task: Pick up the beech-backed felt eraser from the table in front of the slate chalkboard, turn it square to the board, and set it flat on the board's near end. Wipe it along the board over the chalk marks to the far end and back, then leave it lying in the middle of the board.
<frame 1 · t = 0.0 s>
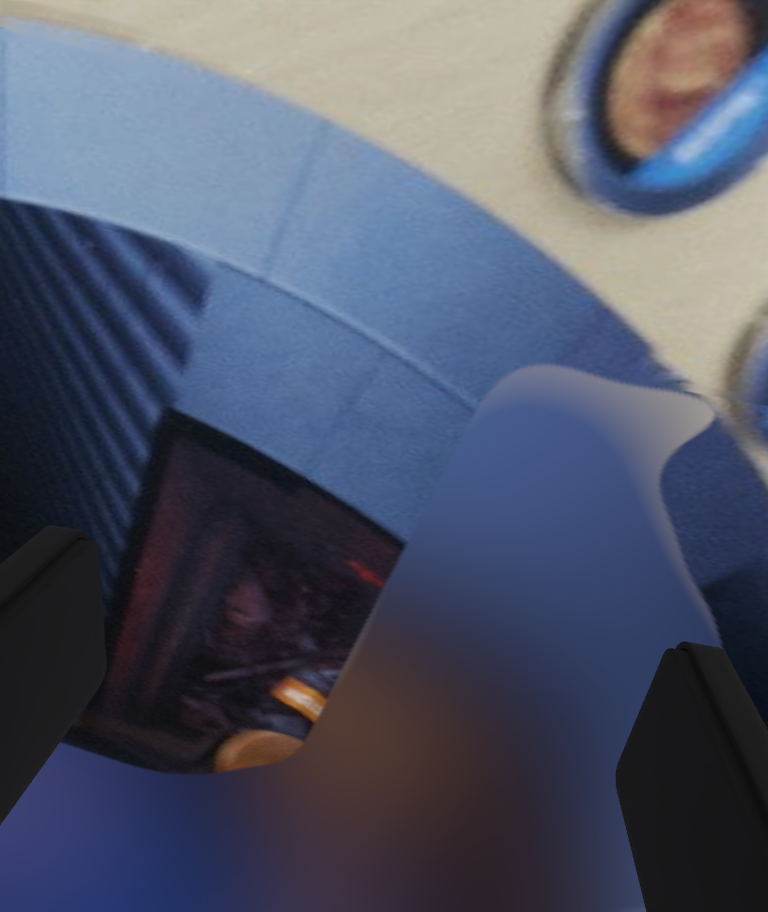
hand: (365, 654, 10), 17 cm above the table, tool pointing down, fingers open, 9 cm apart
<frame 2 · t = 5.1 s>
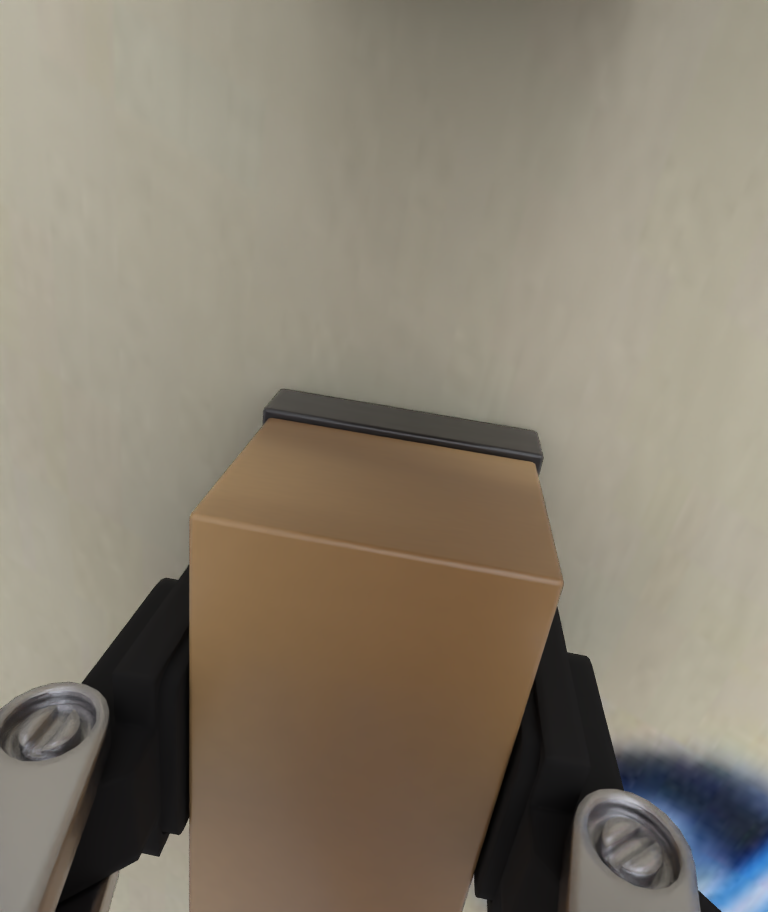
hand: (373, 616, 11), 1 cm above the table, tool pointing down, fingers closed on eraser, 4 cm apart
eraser: (377, 598, 12), on the table, touching gripper
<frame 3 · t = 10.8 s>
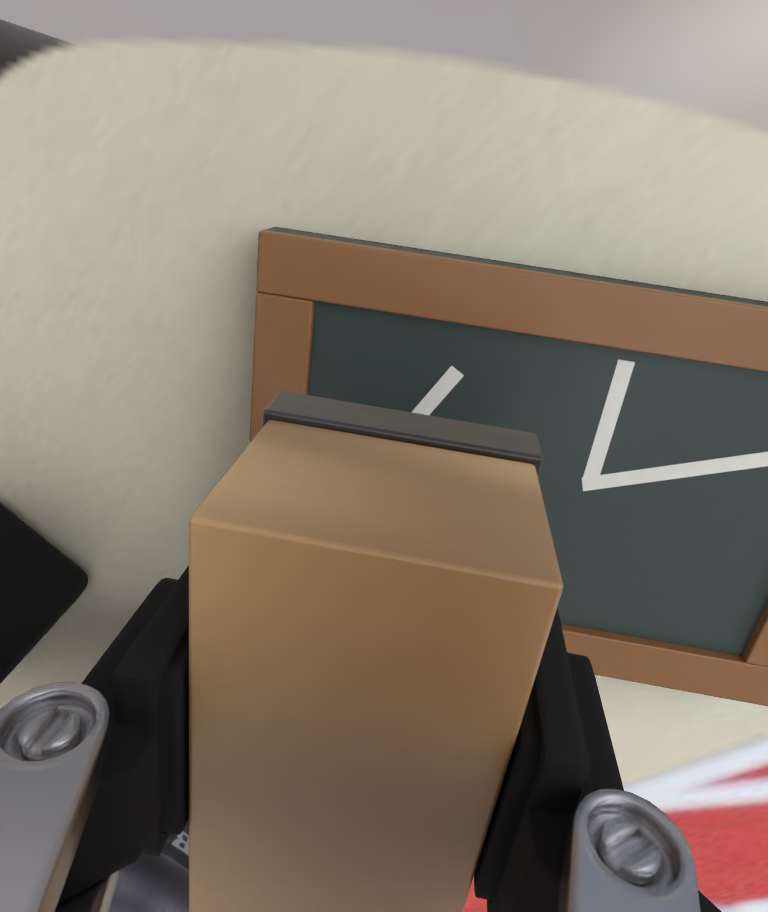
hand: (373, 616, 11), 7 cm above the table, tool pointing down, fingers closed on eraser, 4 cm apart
board: (542, 476, 17), on the table
pill bottle: (223, 668, 22), on the table
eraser: (377, 599, 12), point 7 cm above the table, touching gripper
when the fingers open (1 cm above the table, at t = 16.5 s): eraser stays where it is, resting on board.
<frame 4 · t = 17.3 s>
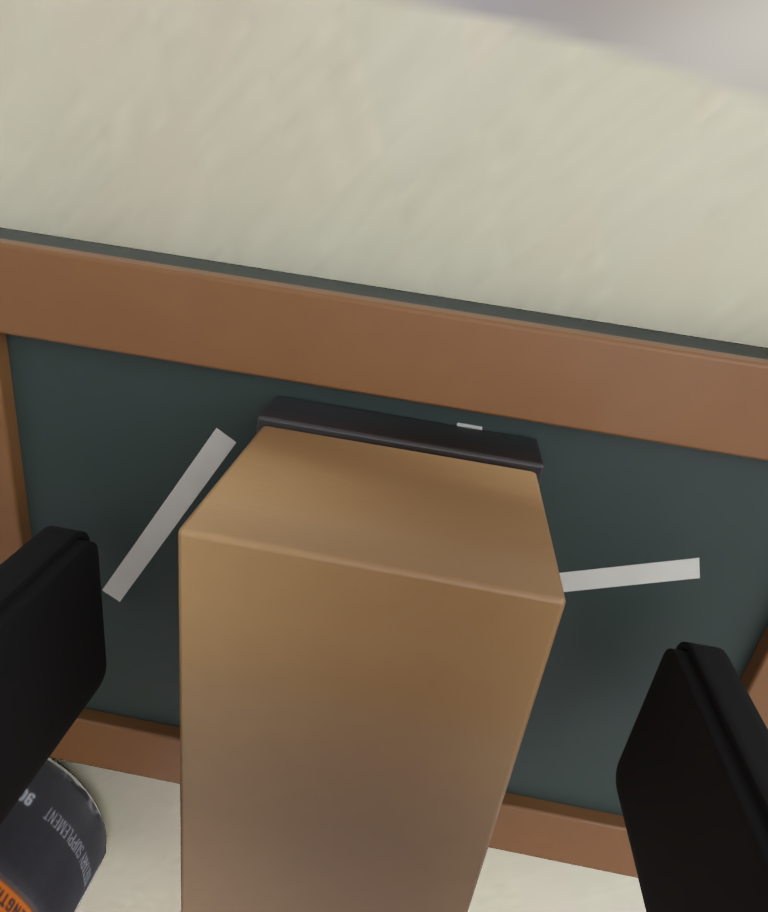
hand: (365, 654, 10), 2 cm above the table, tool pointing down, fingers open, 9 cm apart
board: (383, 574, 12), on the table
pill bottle: (12, 796, 17), on the table
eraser: (375, 608, 11), point 1 cm above the table, touching board
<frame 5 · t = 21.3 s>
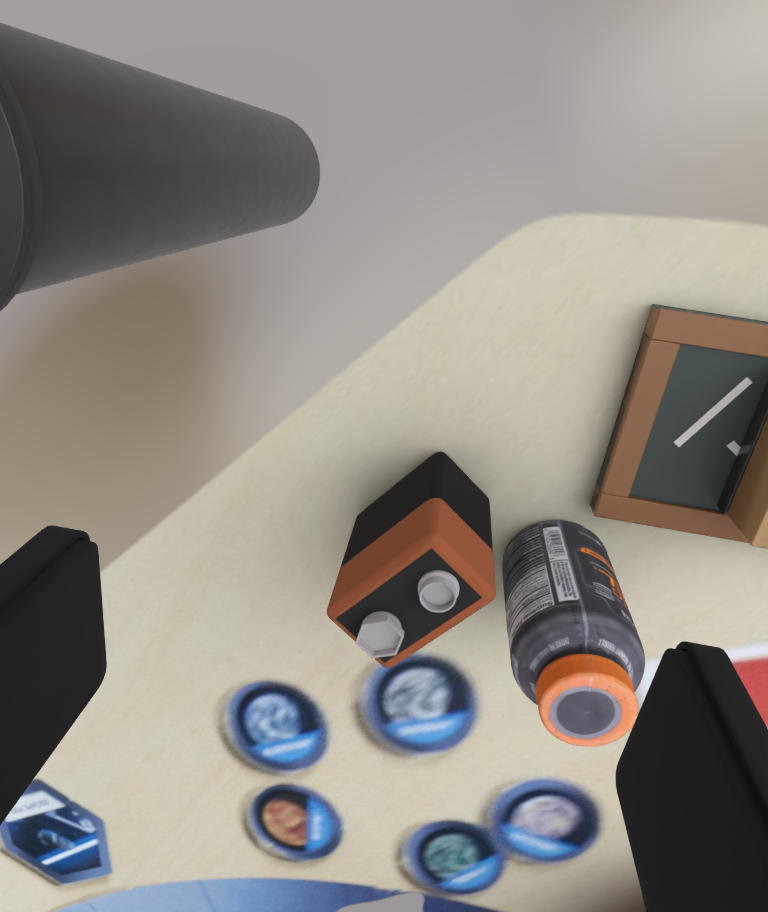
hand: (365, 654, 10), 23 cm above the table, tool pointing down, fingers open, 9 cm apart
pill bottle: (553, 559, 36), on the table
battery: (422, 506, 36), on the table
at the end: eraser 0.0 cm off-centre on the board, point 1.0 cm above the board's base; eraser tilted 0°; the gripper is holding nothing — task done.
